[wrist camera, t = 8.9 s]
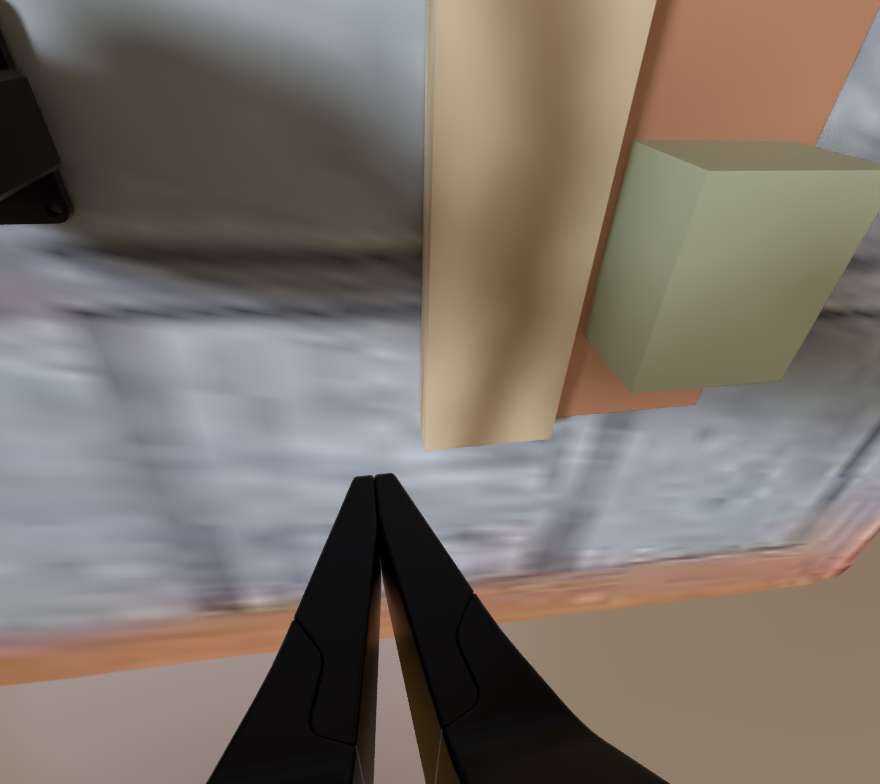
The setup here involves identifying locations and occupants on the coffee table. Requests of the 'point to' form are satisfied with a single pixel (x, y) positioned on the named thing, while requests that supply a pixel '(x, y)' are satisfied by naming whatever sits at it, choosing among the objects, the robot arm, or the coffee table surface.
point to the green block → (724, 258)
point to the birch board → (515, 201)
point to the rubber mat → (720, 119)
